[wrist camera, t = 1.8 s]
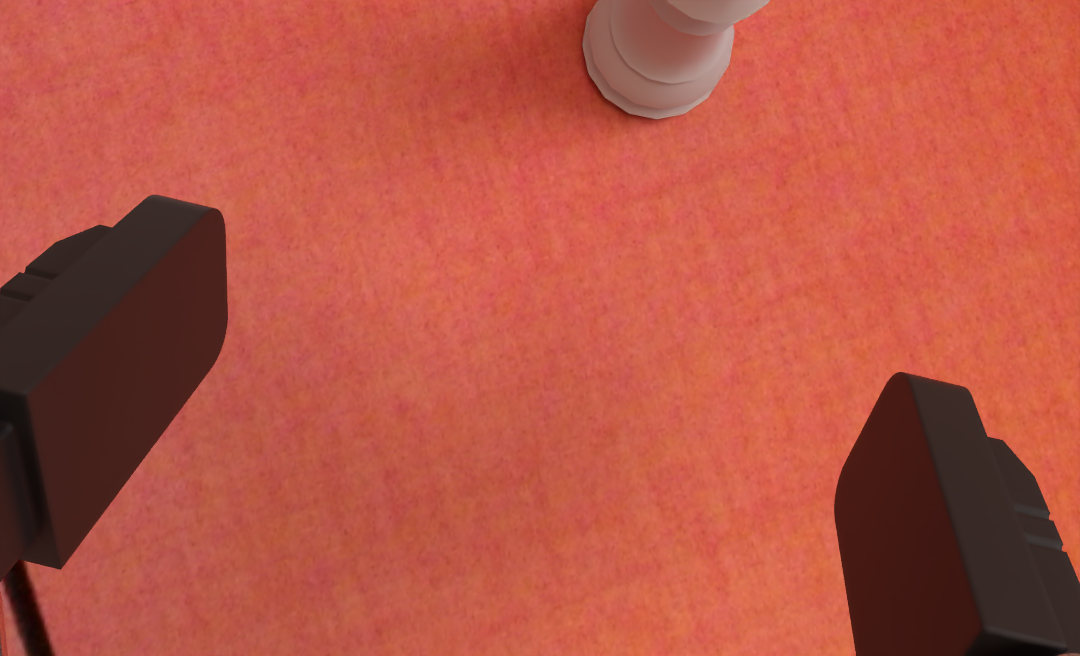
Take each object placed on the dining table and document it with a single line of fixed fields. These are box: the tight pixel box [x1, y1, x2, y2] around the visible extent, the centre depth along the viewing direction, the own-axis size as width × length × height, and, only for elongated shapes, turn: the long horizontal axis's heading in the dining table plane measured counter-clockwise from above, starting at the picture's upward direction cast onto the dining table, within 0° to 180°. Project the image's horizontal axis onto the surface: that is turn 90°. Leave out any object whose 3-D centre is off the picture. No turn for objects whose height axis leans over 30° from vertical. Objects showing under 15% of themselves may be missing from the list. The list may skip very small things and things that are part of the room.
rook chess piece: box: [582, 0, 769, 119], centre depth 24 cm, size 4×4×8 cm
